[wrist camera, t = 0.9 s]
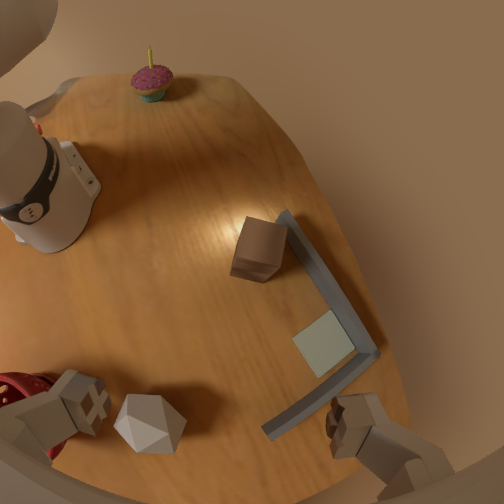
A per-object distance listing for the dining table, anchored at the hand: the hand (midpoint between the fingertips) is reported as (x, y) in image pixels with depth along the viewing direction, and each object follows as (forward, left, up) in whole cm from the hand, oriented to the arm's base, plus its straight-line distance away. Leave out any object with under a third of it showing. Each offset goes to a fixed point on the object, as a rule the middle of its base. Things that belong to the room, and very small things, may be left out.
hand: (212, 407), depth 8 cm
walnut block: (-8, +12, -30) cm, 33 cm away
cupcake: (-48, +14, -30) cm, 58 cm away
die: (+4, -12, -30) cm, 33 cm away
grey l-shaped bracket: (+1, +10, -30) cm, 31 cm away
